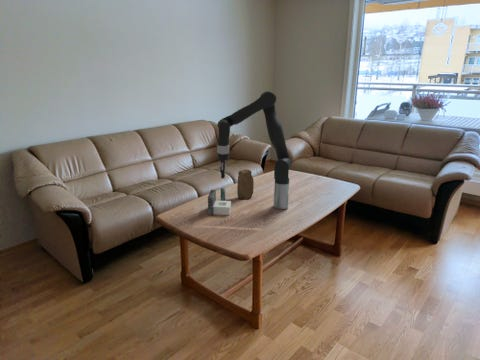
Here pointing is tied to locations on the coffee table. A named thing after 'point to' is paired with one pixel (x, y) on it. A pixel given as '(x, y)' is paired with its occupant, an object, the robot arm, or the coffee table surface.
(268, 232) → the coffee table surface
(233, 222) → the coffee table surface
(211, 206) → the jig
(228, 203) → the socket
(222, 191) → the dowel
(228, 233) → the coffee table surface
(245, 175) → the brown rounded block
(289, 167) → the robot arm
